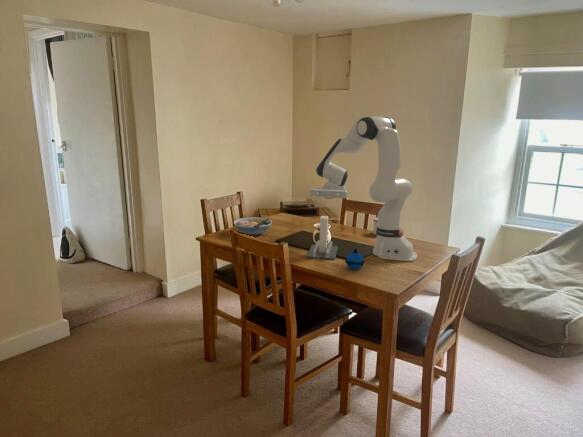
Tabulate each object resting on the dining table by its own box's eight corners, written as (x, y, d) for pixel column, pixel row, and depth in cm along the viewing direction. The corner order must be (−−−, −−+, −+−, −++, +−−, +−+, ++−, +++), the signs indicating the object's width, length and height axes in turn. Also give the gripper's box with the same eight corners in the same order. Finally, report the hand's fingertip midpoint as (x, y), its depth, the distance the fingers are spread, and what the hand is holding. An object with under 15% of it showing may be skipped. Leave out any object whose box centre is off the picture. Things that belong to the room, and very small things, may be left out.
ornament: (352, 264, 209) (353, 245, 207) (367, 269, 204) (368, 249, 201) (341, 269, 203) (342, 248, 201) (356, 274, 197) (357, 253, 195)
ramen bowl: (243, 226, 274) (243, 214, 272) (278, 230, 267) (278, 217, 266) (226, 237, 251) (225, 223, 249) (263, 241, 244) (263, 227, 242)
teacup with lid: (381, 236, 258) (382, 217, 255) (369, 233, 264) (370, 214, 261) (393, 233, 265) (395, 214, 263) (381, 230, 272) (382, 211, 269)
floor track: (312, 246, 237) (312, 240, 236) (337, 247, 235) (338, 241, 234) (306, 257, 218) (306, 251, 217) (334, 259, 216) (335, 253, 215)
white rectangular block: (320, 249, 229) (321, 215, 225) (326, 249, 228) (328, 216, 224) (319, 252, 224) (320, 218, 220) (325, 252, 224) (327, 218, 219)
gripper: (311, 184, 246) (307, 188, 232) (347, 186, 242) (346, 190, 229) (310, 195, 247) (307, 200, 234) (347, 197, 244) (345, 202, 230)
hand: (327, 195), depth 231 cm, fingers open, 8 cm apart
